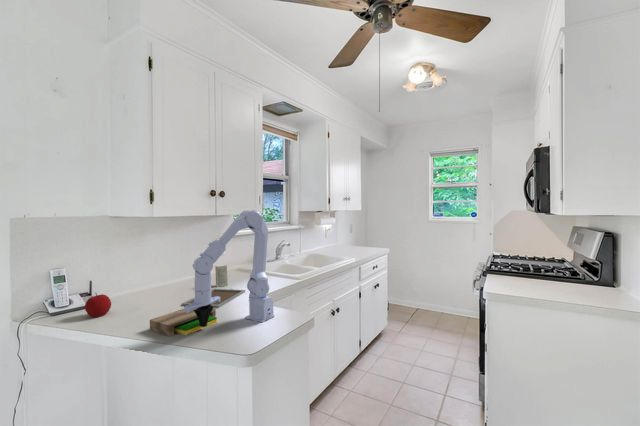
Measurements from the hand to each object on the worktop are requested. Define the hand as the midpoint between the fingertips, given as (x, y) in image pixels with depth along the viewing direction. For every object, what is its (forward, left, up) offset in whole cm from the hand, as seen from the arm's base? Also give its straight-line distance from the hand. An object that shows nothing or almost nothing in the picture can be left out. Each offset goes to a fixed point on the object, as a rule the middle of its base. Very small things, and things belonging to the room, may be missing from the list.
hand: (203, 326), depth 109 cm
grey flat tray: (+28, -31, -2) cm, 42 cm away
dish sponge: (+5, 0, -2) cm, 5 cm away
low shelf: (+11, 0, -1) cm, 11 cm away
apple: (+53, +11, -1) cm, 54 cm away
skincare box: (+45, -49, -1) cm, 67 cm away
